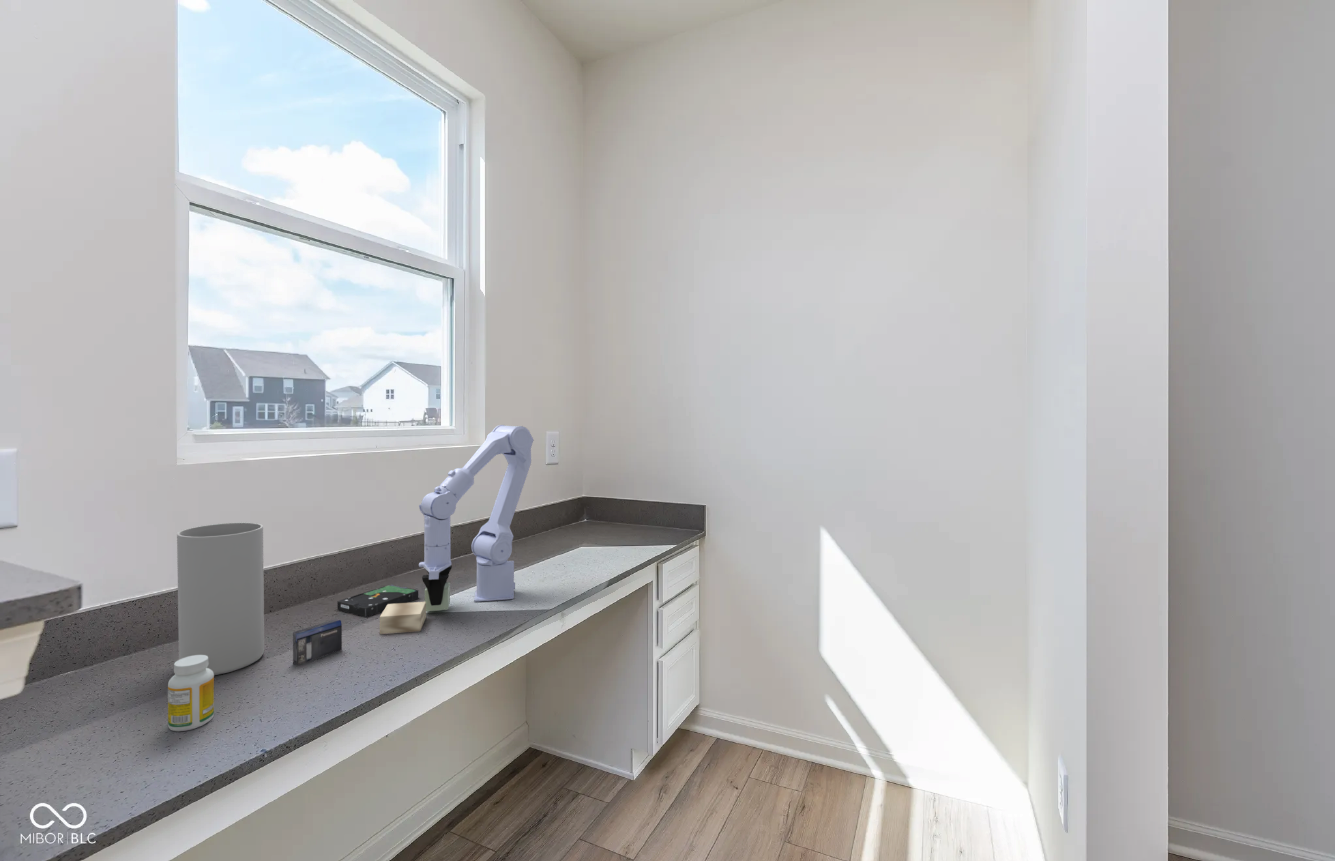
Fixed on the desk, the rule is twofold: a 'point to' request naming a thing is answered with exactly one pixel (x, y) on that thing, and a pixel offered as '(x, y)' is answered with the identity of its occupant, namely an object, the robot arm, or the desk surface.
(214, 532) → the cylinder vase
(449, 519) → the robot arm
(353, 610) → the disk drive
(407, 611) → the birch block
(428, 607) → the sage block
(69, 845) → the desk surface
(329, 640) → the mini dv tape
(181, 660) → the supplement bottle
